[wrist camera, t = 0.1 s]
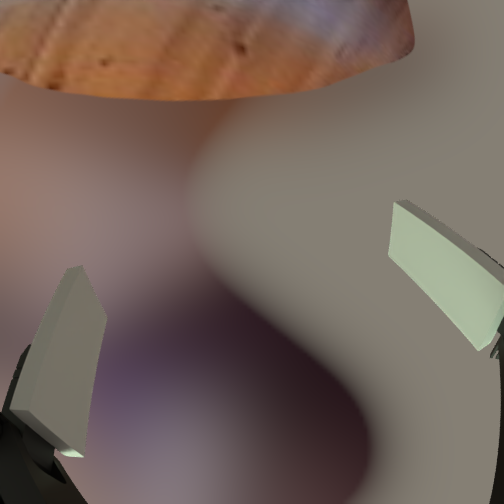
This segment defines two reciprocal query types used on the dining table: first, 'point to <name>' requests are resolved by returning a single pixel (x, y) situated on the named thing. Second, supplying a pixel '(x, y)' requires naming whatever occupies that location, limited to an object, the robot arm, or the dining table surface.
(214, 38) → the dining table surface
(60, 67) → the dining table surface
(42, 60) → the dining table surface
